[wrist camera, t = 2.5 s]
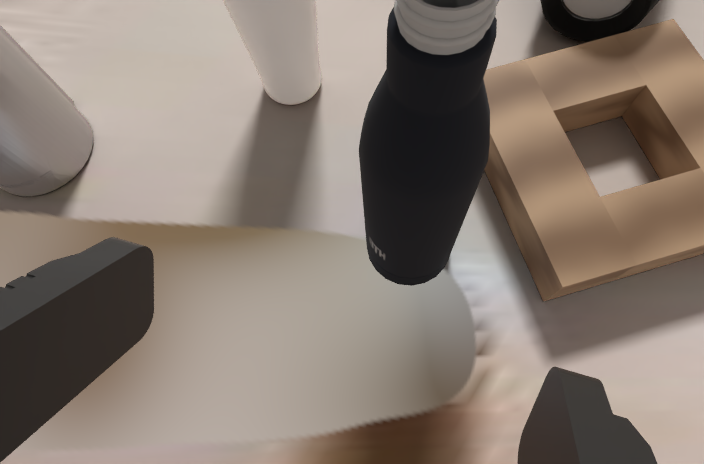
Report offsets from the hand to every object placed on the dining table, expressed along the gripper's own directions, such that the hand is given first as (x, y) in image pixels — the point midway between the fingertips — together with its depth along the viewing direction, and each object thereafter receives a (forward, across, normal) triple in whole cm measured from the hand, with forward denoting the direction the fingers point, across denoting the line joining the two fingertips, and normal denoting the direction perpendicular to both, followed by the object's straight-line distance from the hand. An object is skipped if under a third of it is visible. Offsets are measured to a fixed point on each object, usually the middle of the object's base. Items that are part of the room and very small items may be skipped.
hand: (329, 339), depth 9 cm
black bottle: (+26, 0, +10) cm, 28 cm away
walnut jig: (+34, -13, +2) cm, 36 cm away
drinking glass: (+35, +14, +1) cm, 38 cm away
